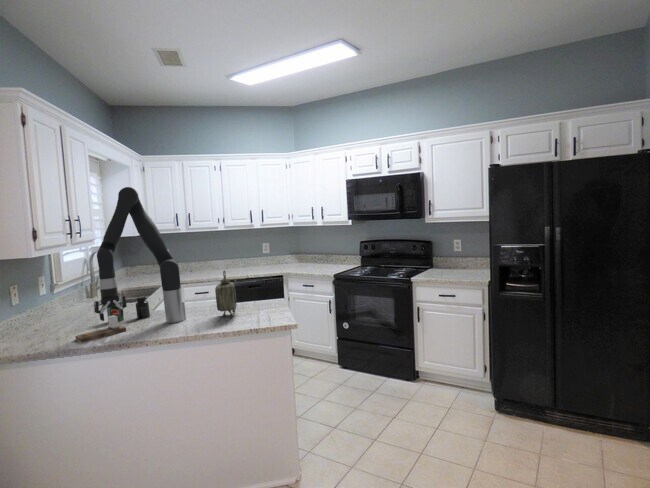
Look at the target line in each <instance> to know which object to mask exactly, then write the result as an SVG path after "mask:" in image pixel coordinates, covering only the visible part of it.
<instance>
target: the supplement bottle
mask: <svg viewBox="0 0 650 488" xmlns="http://www.w3.org/2000/svg"><path fill="white" fill-rule="evenodd" d="M135 311H136V318H137V319H138V320H143V319H147V318H150V317H151V311H150V303H149V301H148V300H147V297H146V296H145V295H143V296H138V297H136V303H135Z"/></svg>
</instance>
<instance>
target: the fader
mask: <svg viewBox="0 0 650 488" xmlns="http://www.w3.org/2000/svg"><path fill="white" fill-rule="evenodd" d="M108 321H109V323H108V327H109V328H111V329H116V328H120V327H119V326H118V325H119V322H118V318H117V316H115V315H113V316H109V317H108V316H107V322H108ZM108 327H107V328H108Z"/></svg>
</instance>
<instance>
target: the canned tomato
mask: <svg viewBox="0 0 650 488" xmlns="http://www.w3.org/2000/svg"><path fill="white" fill-rule="evenodd" d="M118 303H119V304H120V305H121V306H122V301H121V300H119V301H118ZM106 313H107V318H108V317H109V316H113V315H115V316H117V318H118V323H121V322H124V320H125V318H124V314H123V315H122V317H120V316H119V308H118V307H117V306H114V307H109V308H106ZM107 322H108V324H109V321H108V320H107Z"/></svg>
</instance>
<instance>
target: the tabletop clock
mask: <svg viewBox="0 0 650 488" xmlns="http://www.w3.org/2000/svg"><path fill="white" fill-rule="evenodd" d="M222 274H223V279H221V281H220V283H219V284H217V285H216V286H215V290H214V292H215V303H216V309H217V311H219V312H223V313H222V316H223V317H226V315H227V314H226V312H228V313H229V314H230V318H232V319H233V318H234V313H236V309H237V307H238V306H237V305H238V304H237V293H236V285H235V282H234V281H233V282H232V281H231V280H230V279H228V278H227V277H226V274H227V273H226V270H225V269H224V270H223V272H222Z"/></svg>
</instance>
